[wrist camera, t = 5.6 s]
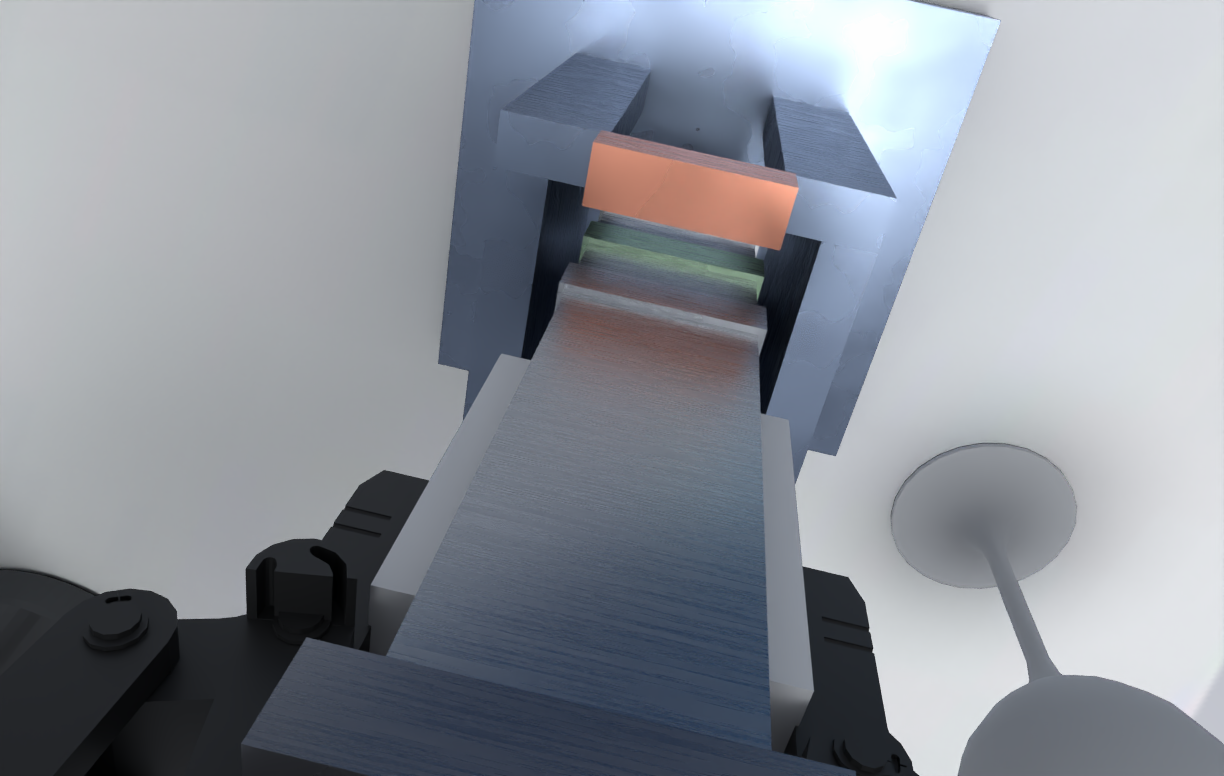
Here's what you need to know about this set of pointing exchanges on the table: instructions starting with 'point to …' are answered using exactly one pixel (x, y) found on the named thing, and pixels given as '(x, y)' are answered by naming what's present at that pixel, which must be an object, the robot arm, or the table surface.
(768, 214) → the stand
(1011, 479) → the wineglass
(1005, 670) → the table surface
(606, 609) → the column
